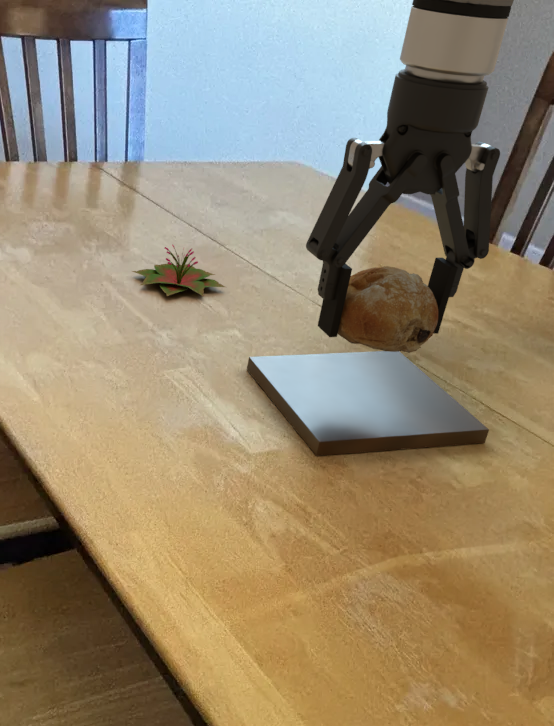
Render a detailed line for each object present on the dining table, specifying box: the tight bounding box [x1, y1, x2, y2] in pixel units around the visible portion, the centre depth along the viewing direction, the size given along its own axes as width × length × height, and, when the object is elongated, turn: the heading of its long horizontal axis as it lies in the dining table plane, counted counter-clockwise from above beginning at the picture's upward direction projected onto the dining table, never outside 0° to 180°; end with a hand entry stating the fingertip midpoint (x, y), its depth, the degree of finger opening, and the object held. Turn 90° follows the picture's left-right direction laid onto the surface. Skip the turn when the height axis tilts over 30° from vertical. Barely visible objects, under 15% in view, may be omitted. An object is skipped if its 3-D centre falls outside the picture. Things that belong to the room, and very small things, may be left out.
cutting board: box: [246, 350, 490, 457], centre depth 89 cm, size 18×18×2 cm
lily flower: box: [131, 244, 226, 297], centre depth 111 cm, size 12×12×5 cm
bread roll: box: [337, 265, 438, 354], centre depth 83 cm, size 10×10×8 cm
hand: (378, 329), depth 84 cm, fingers closed on bread roll, 10 cm apart
